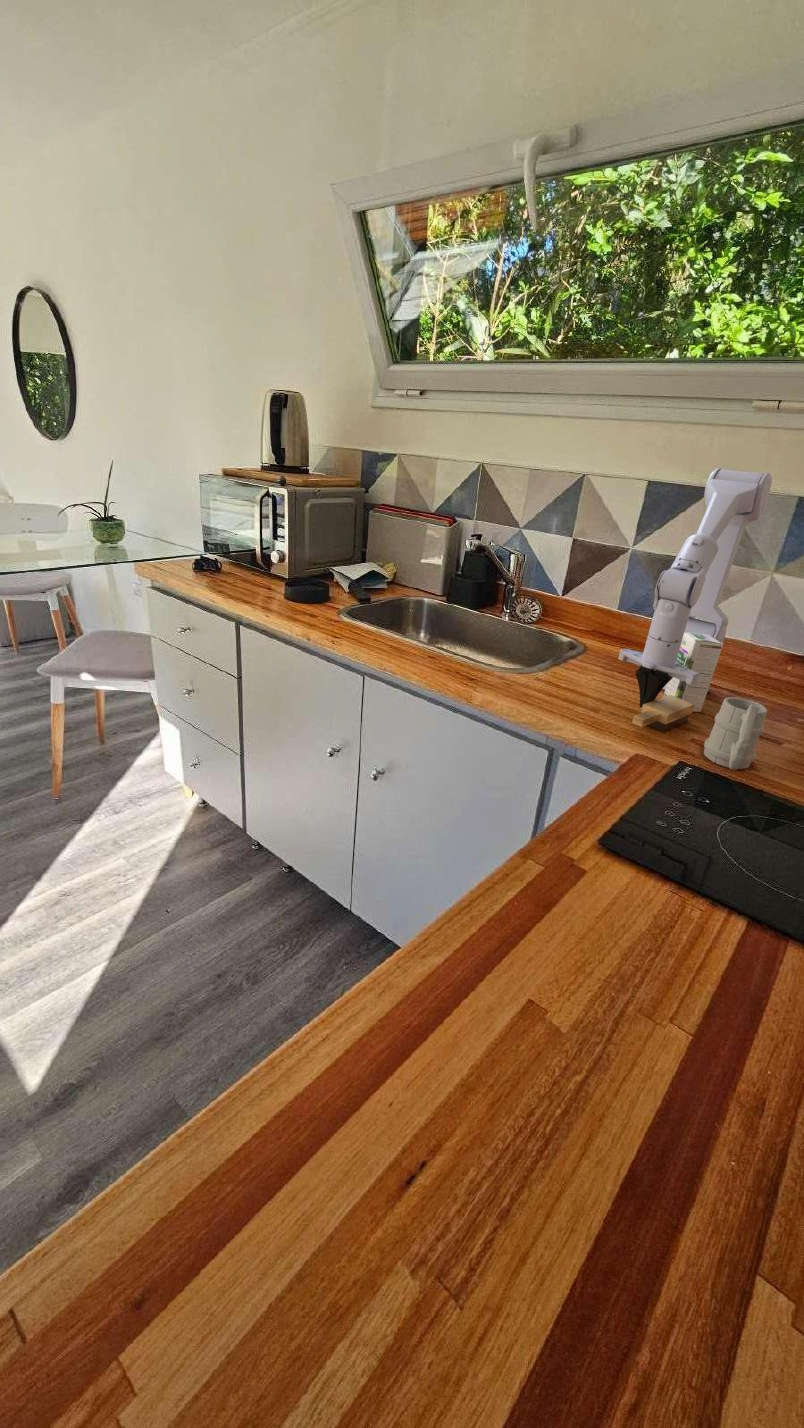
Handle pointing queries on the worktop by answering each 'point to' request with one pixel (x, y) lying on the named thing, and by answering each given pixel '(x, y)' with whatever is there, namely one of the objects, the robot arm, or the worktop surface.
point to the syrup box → (695, 668)
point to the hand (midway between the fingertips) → (645, 706)
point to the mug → (735, 733)
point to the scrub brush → (664, 713)
